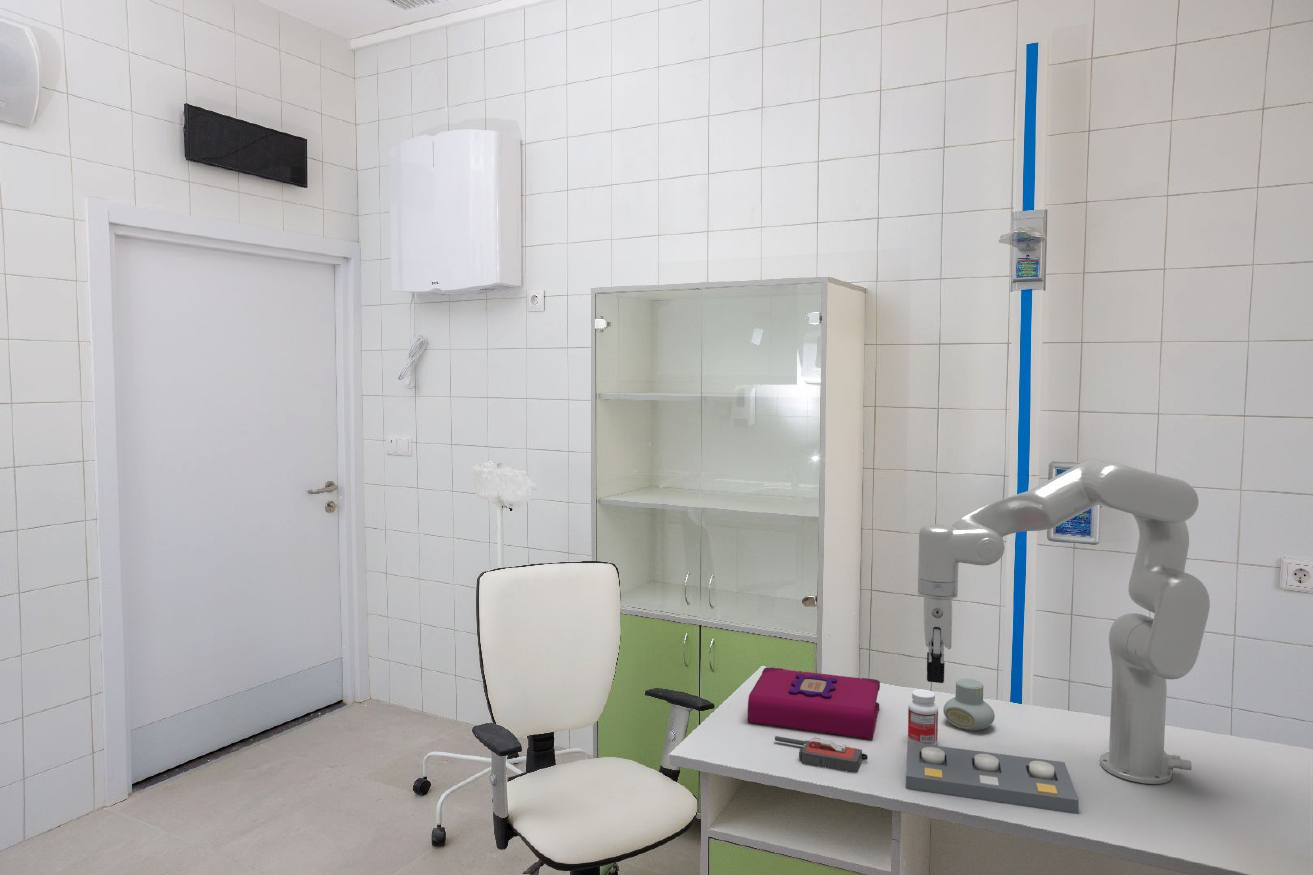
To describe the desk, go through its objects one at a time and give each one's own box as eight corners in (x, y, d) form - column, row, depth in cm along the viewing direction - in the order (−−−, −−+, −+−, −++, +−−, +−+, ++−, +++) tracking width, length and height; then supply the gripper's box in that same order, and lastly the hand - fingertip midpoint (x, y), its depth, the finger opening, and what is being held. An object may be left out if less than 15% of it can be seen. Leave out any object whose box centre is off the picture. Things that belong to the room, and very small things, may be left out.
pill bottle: (918, 734, 185) (919, 685, 185) (942, 743, 181) (944, 693, 180) (901, 741, 181) (902, 692, 181) (926, 751, 177) (928, 700, 176)
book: (873, 743, 182) (873, 709, 181) (746, 726, 190) (747, 693, 190) (879, 708, 201) (880, 677, 201) (765, 693, 210) (765, 664, 210)
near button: (1052, 771, 163) (1052, 762, 163) (1055, 781, 159) (1056, 772, 159) (1027, 768, 165) (1028, 759, 164) (1030, 778, 160) (1030, 769, 160)
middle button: (997, 764, 166) (997, 755, 166) (999, 773, 162) (999, 764, 162) (973, 761, 168) (973, 752, 167) (974, 770, 163) (975, 761, 163)
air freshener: (937, 723, 191) (938, 680, 191) (954, 713, 197) (956, 672, 196) (982, 738, 183) (984, 693, 183) (1000, 728, 189) (1001, 684, 188)
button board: (1064, 774, 167) (1064, 760, 166) (1078, 813, 151) (1078, 798, 151) (907, 753, 176) (907, 740, 175) (905, 788, 160) (906, 774, 160)
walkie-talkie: (869, 758, 174) (775, 742, 182) (870, 737, 174) (776, 722, 181) (862, 776, 166) (765, 758, 174) (863, 755, 166) (765, 738, 173)
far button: (944, 757, 169) (944, 748, 169) (944, 766, 165) (945, 757, 165) (921, 754, 171) (921, 745, 170) (921, 763, 166) (921, 754, 166)
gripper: (959, 599, 156) (956, 694, 157) (956, 579, 172) (953, 665, 174) (917, 596, 159) (915, 689, 160) (918, 576, 175) (915, 661, 176)
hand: (935, 676), depth 167 cm, fingers open, 4 cm apart
